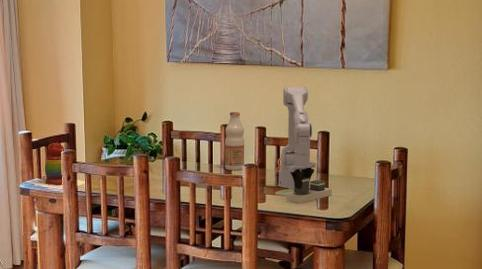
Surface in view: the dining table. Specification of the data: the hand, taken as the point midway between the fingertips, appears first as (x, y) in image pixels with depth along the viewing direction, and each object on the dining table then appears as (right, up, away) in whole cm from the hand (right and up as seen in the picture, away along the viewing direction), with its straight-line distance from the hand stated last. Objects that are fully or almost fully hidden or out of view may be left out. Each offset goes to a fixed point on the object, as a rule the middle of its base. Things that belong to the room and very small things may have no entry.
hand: (301, 187), depth 275 cm
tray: (-4, -4, +10) cm, 11 cm away
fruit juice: (-27, +4, +67) cm, 73 cm away
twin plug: (+7, -4, +8) cm, 11 cm away
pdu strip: (+3, -5, +4) cm, 8 cm away
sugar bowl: (-1, +1, +51) cm, 51 cm away
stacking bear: (-106, -1, +32) cm, 111 cm away
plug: (0, -2, 0) cm, 2 cm away
